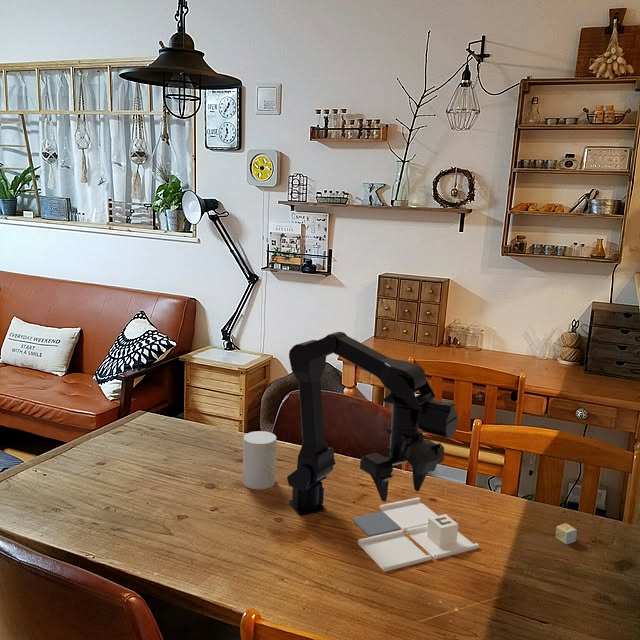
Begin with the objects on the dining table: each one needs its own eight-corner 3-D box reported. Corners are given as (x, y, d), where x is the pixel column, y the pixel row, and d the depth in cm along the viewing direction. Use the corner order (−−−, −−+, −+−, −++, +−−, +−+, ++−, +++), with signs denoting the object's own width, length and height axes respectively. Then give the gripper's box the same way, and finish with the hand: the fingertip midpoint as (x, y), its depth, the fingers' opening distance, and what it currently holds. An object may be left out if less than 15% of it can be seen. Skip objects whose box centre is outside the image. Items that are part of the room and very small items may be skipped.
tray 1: (405, 532, 141) (405, 528, 141) (379, 509, 151) (379, 505, 151) (445, 522, 146) (446, 518, 146) (418, 501, 156) (418, 497, 156)
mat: (368, 537, 139) (368, 535, 139) (351, 519, 146) (351, 517, 146) (399, 529, 142) (400, 528, 142) (381, 513, 149) (381, 511, 149)
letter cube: (439, 547, 136) (440, 527, 135) (426, 536, 140) (428, 517, 139) (456, 543, 138) (458, 523, 137) (443, 532, 141) (445, 513, 141)
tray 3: (435, 559, 131) (435, 555, 131) (406, 533, 141) (406, 529, 141) (478, 548, 136) (478, 544, 136) (447, 523, 146) (447, 519, 146)
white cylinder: (270, 491, 158) (271, 445, 155) (238, 487, 159) (239, 441, 157) (278, 477, 165) (280, 433, 163) (248, 473, 167) (249, 429, 165)
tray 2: (384, 572, 126) (384, 567, 126) (357, 543, 136) (357, 539, 136) (430, 560, 131) (431, 556, 131) (401, 533, 141) (402, 529, 141)
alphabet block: (565, 545, 139) (567, 532, 138) (554, 538, 142) (556, 525, 141) (575, 542, 140) (577, 529, 140) (564, 535, 143) (566, 522, 143)
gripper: (396, 448, 120) (391, 524, 124) (466, 430, 131) (460, 500, 134) (360, 429, 129) (356, 500, 132) (427, 413, 140) (423, 480, 143)
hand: (400, 495), depth 135 cm, fingers open, 9 cm apart
